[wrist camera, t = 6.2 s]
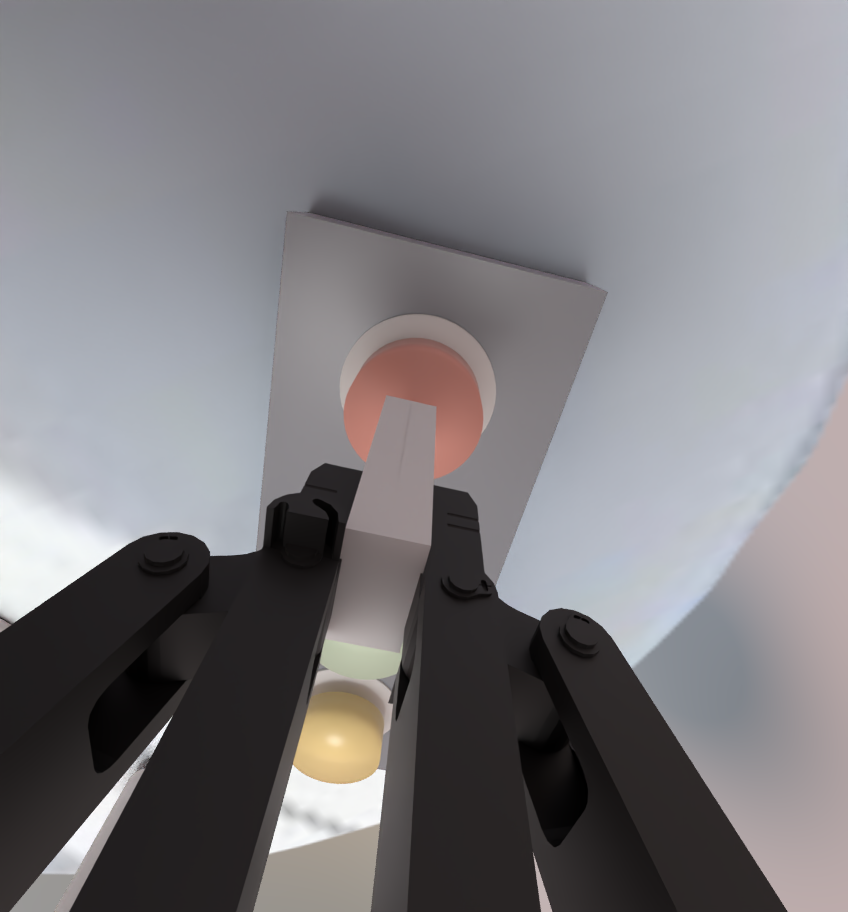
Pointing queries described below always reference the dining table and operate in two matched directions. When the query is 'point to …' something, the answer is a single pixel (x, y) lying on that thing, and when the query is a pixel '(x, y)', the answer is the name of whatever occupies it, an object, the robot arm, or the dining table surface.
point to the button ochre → (340, 738)
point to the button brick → (418, 397)
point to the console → (430, 317)
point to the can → (97, 846)
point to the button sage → (359, 660)
